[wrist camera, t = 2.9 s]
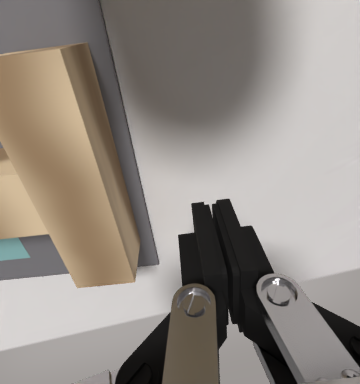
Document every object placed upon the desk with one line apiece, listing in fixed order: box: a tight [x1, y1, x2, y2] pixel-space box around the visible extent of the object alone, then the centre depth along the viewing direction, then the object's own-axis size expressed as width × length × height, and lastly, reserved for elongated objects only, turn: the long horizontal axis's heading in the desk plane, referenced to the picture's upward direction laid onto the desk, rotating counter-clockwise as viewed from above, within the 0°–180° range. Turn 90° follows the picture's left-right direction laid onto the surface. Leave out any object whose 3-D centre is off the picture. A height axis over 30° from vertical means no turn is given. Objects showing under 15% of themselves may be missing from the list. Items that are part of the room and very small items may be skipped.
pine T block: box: [0, 42, 140, 288], centre depth 16 cm, size 12×14×4 cm
